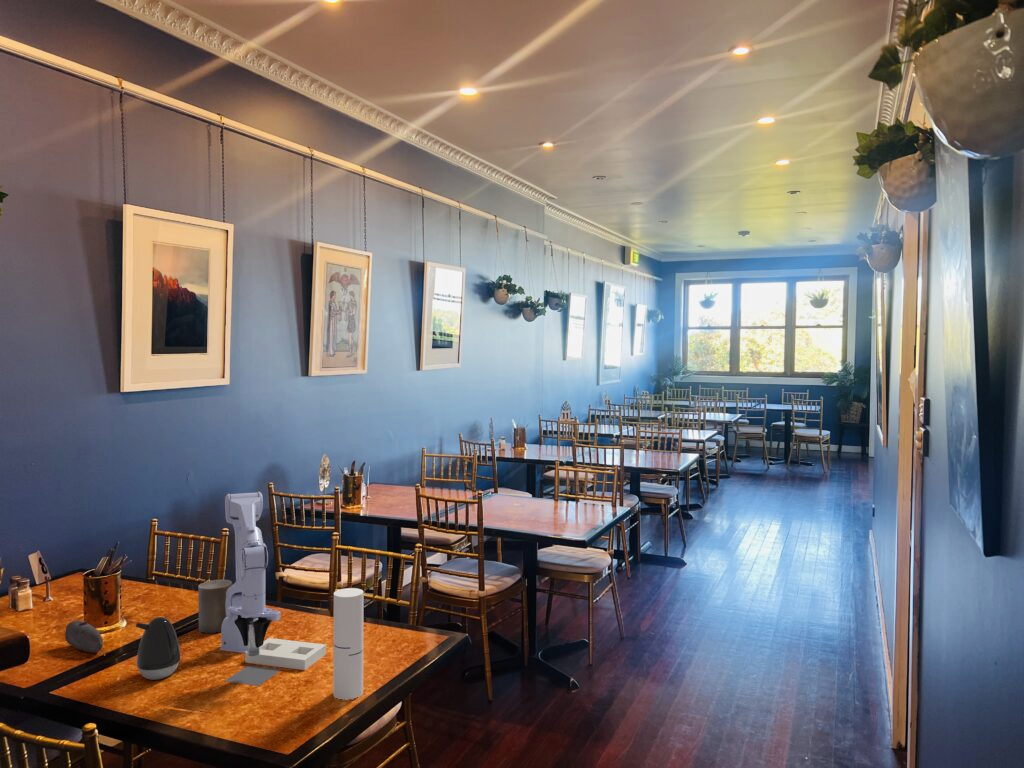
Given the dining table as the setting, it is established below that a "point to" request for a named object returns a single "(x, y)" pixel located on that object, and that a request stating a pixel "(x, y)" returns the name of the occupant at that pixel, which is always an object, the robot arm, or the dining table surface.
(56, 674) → the dining table surface
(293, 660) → the hole block
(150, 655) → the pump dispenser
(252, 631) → the peg
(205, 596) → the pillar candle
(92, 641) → the grey river pebble
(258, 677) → the mat
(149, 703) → the dining table surface
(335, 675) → the cylindrical container
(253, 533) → the robot arm
